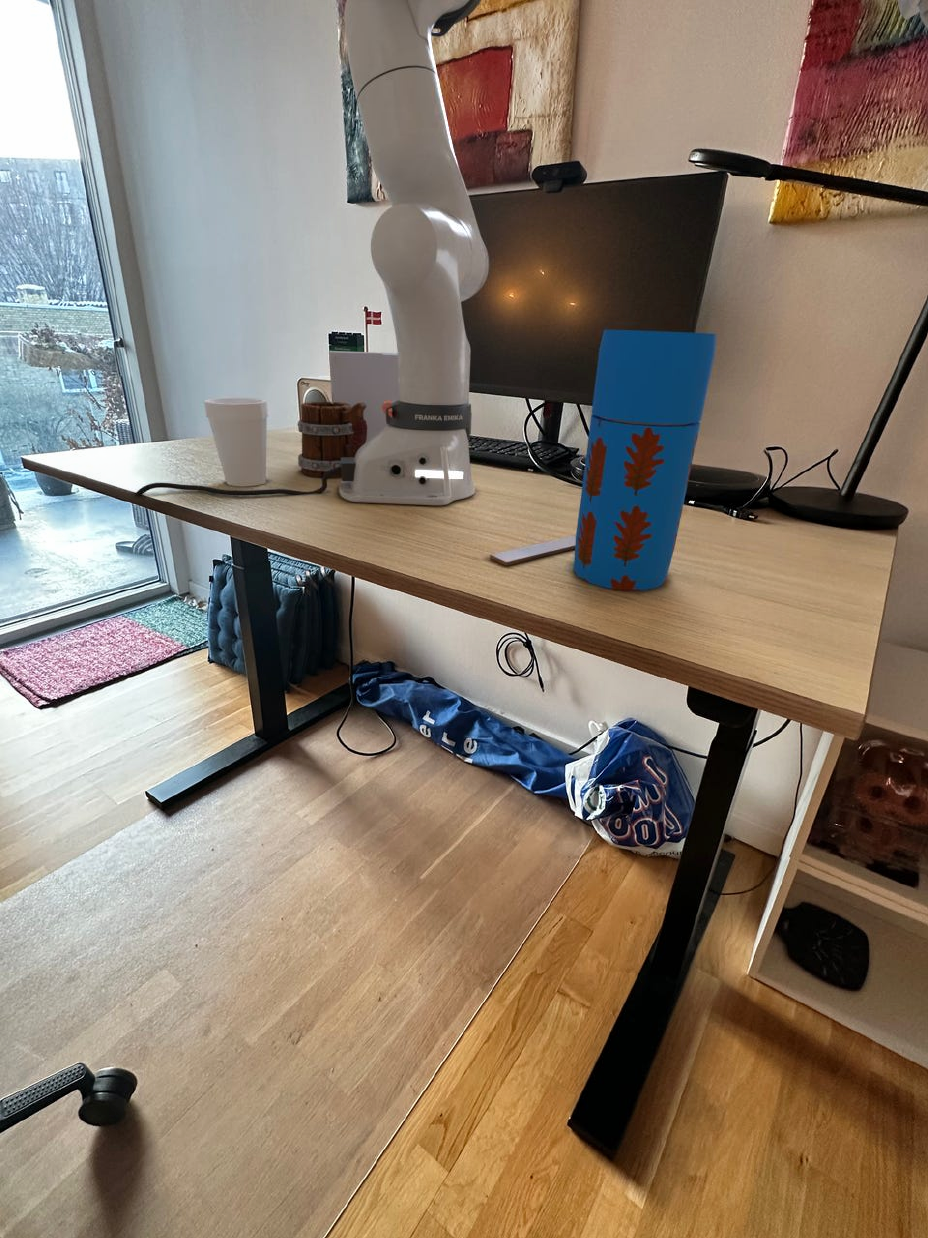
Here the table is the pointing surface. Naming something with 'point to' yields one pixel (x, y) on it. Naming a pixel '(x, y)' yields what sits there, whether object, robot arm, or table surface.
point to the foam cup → (240, 438)
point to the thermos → (640, 454)
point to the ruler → (535, 551)
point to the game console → (365, 383)
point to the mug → (330, 435)
